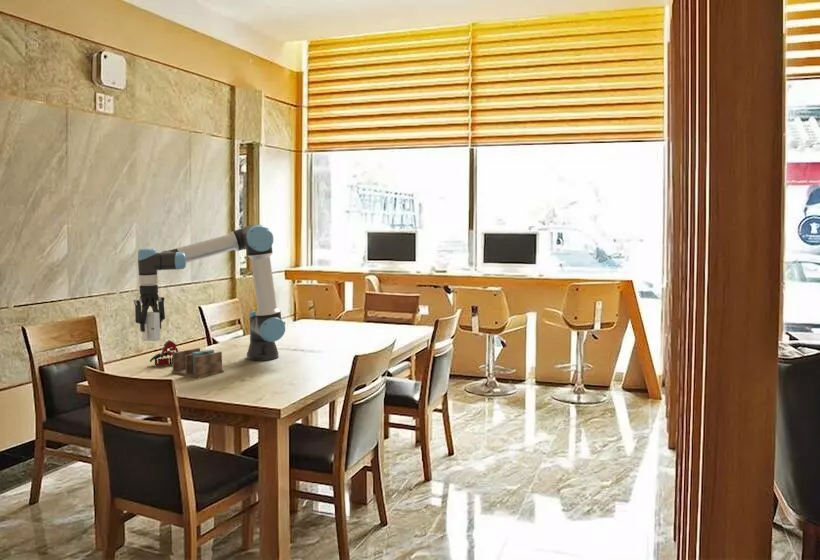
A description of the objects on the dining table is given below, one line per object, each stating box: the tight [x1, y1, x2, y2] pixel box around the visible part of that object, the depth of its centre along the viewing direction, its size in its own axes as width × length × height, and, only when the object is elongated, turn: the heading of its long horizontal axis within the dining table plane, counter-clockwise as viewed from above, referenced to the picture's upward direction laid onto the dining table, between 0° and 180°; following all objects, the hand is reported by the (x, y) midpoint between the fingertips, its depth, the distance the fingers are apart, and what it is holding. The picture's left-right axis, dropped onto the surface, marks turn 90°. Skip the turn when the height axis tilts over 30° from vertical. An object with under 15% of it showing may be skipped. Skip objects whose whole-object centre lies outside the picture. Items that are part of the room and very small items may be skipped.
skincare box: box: [142, 311, 161, 342], centre depth 307 cm, size 6×4×12 cm
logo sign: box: [149, 339, 179, 367], centre depth 330 cm, size 18×4×11 cm, turn 117°
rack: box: [171, 347, 225, 379], centre depth 312 cm, size 14×18×10 cm
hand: (151, 337), depth 308 cm, fingers closed on skincare box, 6 cm apart
